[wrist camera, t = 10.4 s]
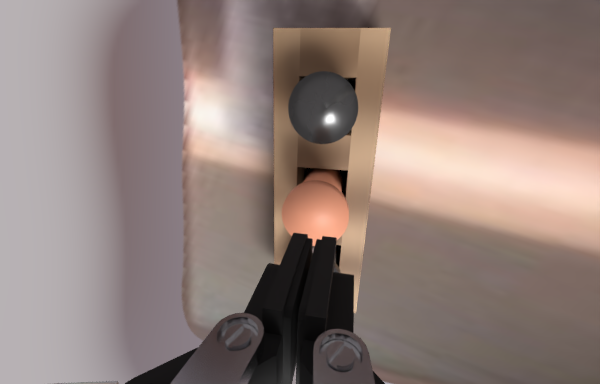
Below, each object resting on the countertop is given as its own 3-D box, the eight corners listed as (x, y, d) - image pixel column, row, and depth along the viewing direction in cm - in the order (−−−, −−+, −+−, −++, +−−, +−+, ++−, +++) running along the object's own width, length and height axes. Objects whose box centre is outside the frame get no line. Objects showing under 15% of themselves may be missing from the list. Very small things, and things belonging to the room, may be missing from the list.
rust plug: (300, 155, 23) (281, 181, 16) (351, 158, 22) (352, 187, 16) (298, 201, 24) (281, 242, 18) (346, 205, 23) (346, 249, 17)
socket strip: (289, 40, 22) (273, 27, 17) (381, 41, 21) (390, 27, 16) (286, 267, 29) (274, 301, 25) (354, 276, 28) (355, 312, 24)
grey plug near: (305, 75, 22) (288, 70, 16) (357, 76, 21) (361, 72, 15) (303, 127, 23) (287, 142, 17) (352, 129, 23) (354, 146, 17)
